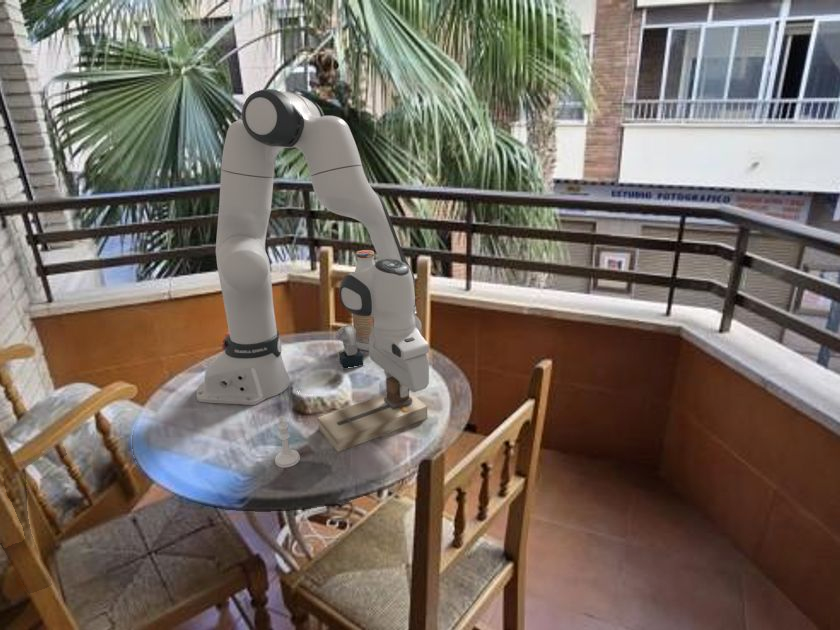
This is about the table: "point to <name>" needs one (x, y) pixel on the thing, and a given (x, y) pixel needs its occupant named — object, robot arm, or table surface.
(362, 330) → the fruit juice
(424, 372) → the robot arm
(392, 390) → the slider
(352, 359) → the watch
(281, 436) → the chess piece
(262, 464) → the table surface
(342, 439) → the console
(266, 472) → the table surface
